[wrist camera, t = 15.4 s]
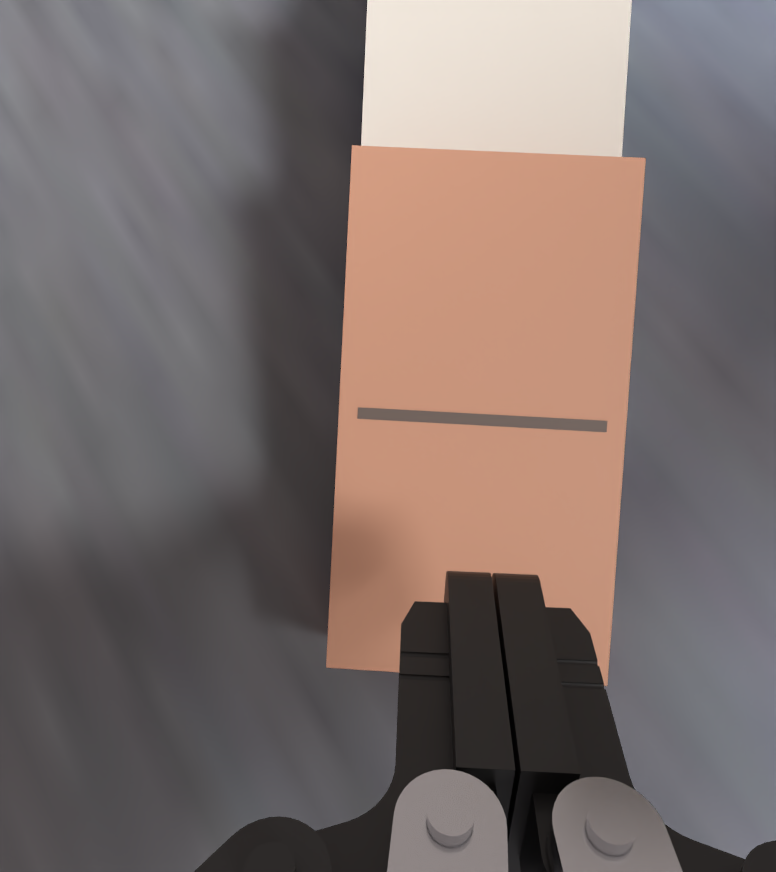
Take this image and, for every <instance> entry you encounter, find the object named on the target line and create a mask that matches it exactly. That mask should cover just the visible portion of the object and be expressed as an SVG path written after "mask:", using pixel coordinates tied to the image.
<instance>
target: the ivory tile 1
mask: <svg viewBox="0 0 776 872" xmlns="http://www.w3.org/2000/svg"><path fill="white" fill-rule="evenodd" d="M631 4H632V0H367V22H366V45H365V68H364V91H363V113H362V136H361V146H379V147H402V148H426V149H449V150H472V151H495V152H518V153H541V154H565V155H588V156H611V157H622V147H623V131H624V115H625V99H626V83H627V67H628V51H629V35H630V19H631Z"/></svg>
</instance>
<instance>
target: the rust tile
mask: <svg viewBox="0 0 776 872" xmlns="http://www.w3.org/2000/svg"><path fill="white" fill-rule="evenodd" d="M645 162H646V158H634V157H611V156H588V155H565V154H541V153H518V152H495V151H472V150H449V149H426V148H402V147H379V146H356V145H352V155H351V176H350V196H349V216H348V236H347V256H346V277H345V297H344V317H343V337H342V357H341V377H340V398H339V418H338V438H337V458H336V478H335V499H334V519H333V539H332V559H331V579H330V600H329V620H328V640H327V660H326V668H341V669H356V670H371V671H387V672H399V665H400V639H401V623H402V622H403V620H404V618H405V617H406V615H407V613H408V612H409V610H410V608H411V607H412V605H413V603H414V602H415V601H420V602H443V603H444V593H445V580H446V572H447V571H465V572H489V573H491V577H492V574H493V573H508V574H532V575H538V577H539V579H540V583H541V588H542V592H543V597H544V602H545V607H554V608H571V609H572V611H573V612H574V613H575V614H576V616H577V617H578V618H579V619H580V621H581V622H582V623H583V624H584V626H585V627H586V628H587V630H588V631H589V632H590V634H591V638H592V642H593V645H594V649H595V653H596V656H597V660H598V666H599V667H600V671H601V674H602V678H603V682H604V686H607V683H608V669H609V655H610V642H611V628H612V614H613V600H614V587H615V573H616V559H617V546H618V532H619V518H620V505H621V491H622V477H623V463H624V450H625V436H626V422H627V409H628V395H629V381H630V368H631V354H632V340H633V326H634V313H635V299H636V285H637V272H638V258H639V244H640V231H641V217H642V203H643V189H644V176H645Z"/></svg>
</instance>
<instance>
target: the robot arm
mask: <svg viewBox="0 0 776 872" xmlns="http://www.w3.org/2000/svg"><path fill="white" fill-rule="evenodd" d="M194 872H776V841H771V842H766V843H763V844H761V845H758V846H757V847H755V848H754V849H753V850H752V851H751V852H750V853H749V854H748V856H747V857H746V859H743V858H740V857H737V856H734V855H732V854H729V853H726V852H724V851H721V850H718V849H715V848H713V847H710V846H707V845H705V844H702V843H699V842H697V841H694V840H692V839H689V838H687V837H685V836H682V835H681V834H679V833H677V832H676V831H674V830H672V829H671V828H669V827H668V826H667V825H665V824H664V822H663V820H662V818H661V817H660V815H659V814H658V812H657V811H656V809H655V808H654V807H653V806H652V804H651V803H650V802H649V801H648V800H647V799H646V798H645V797H643V796H642V795H641V794H640V793H639V792H637V791H636V790H635V789H634V787H633V785H632V782H631V779H630V776H629V773H628V769H627V765H626V762H625V758H624V754H623V751H622V747H621V744H620V740H619V736H618V733H617V729H616V725H615V722H614V718H613V714H612V711H611V707H610V703H609V700H608V696H607V693H606V689H604V682H603V678H602V674H601V671H600V667H599V666H598V660H597V656H596V653H595V649H594V645H593V642H592V638H591V634H590V632H589V631H588V630H587V628H586V627H585V626H584V624H583V623H582V622H581V621H580V619H579V618H578V617H577V616H576V614H575V613H574V612H573V611H572V609H571V608H554V607H545V602H544V597H543V592H542V588H541V583H540V579H539V577H538V575H532V574H508V573H493V574H492V577H491V573H489V572H465V571H447V572H446V580H445V593H444V603H443V602H420V601H415V602H414V603H413V605H412V607H411V608H410V610H409V612H408V613H407V615H406V617H405V618H404V620H403V622H402V623H401V639H400V665H399V691H398V717H397V743H396V766H395V773H394V777H393V780H392V783H391V785H390V787H389V789H388V791H387V792H386V794H385V795H384V797H383V798H382V799H381V800H380V801H379V803H378V804H377V805H376V806H375V807H373V808H372V809H371V810H369V811H368V812H367V813H365V814H363V815H362V816H360V817H358V818H356V819H353V820H350V821H348V822H345V823H341V824H338V825H334V826H331V827H328V828H324V829H321V830H317V831H314V830H313V829H312V828H310V827H309V826H308V825H306V824H304V823H302V822H301V821H299V820H295V819H292V818H287V817H269V818H265V819H260V820H257V821H255V822H253V823H250V824H248V825H247V826H245V827H243V828H242V829H240V830H239V831H238V832H236V833H235V834H234V835H233V836H232V837H230V838H229V839H228V840H227V841H226V842H225V843H224V844H223V845H222V846H221V847H220V848H219V849H218V850H217V851H216V852H215V853H213V854H212V855H211V856H210V857H209V858H208V859H207V860H206V861H205V862H204V863H203V864H202V865H201V866H200V867H199V868H198V869H196V870H195V871H194Z"/></svg>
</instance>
